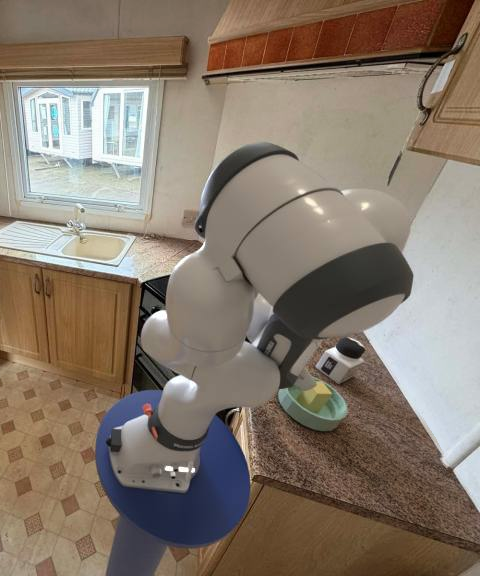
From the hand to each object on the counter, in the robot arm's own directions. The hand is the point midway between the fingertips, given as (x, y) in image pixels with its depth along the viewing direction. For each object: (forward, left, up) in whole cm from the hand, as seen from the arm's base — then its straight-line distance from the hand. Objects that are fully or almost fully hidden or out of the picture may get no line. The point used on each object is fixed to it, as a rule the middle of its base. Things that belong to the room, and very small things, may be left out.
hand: (293, 368), depth 79 cm
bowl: (+10, -1, -16) cm, 19 cm away
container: (+29, +11, -16) cm, 35 cm away
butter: (+10, -1, -15) cm, 18 cm away
